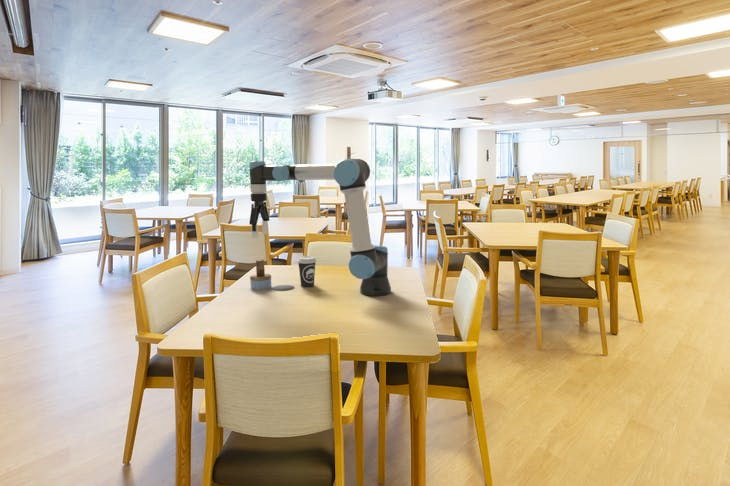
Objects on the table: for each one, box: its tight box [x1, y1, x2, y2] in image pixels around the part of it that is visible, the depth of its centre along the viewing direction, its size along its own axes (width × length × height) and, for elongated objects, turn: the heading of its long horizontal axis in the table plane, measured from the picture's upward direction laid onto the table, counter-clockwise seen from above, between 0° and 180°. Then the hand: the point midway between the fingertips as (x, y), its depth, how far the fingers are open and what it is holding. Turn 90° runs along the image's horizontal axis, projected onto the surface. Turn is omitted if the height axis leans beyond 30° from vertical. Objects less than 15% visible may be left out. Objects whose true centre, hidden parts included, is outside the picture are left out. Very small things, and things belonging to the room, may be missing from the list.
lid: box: [249, 259, 272, 281], centre depth 236 cm, size 10×10×9 cm
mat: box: [271, 284, 295, 292], centre depth 236 cm, size 11×11×1 cm
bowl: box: [249, 278, 272, 291], centre depth 237 cm, size 10×10×5 cm
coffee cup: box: [297, 255, 317, 288], centre depth 240 cm, size 10×10×15 cm
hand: (260, 235), depth 233 cm, fingers open, 13 cm apart
